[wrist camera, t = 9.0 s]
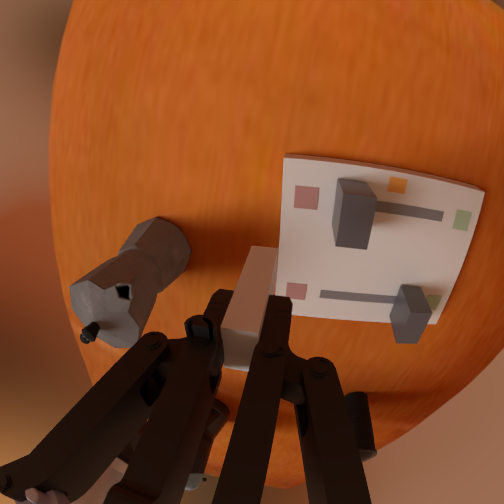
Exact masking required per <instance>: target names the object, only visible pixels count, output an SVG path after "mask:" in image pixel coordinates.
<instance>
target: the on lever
mask: <svg viewBox="0 0 504 504" xmlns="http://www.w3.org/2000/svg"><path fill="white" fill-rule="evenodd" d="M431 315H432V311H431V309H430V306H429V304H428V302H427V300H426V297H425V295H424V293H423V291H422V289H421V287H412V286H400V288H399V291H398V294H397V297H396V299H395V302H394V305H393V307H392V310H391V312H390V315H389V317H390V321H391V325H392V329H393V333H394V337H395V341H396V343H414V344H417V342H418V341H419V339H420V337H421V335H422V333H423V331H424V329H425V327H426V325H427V323H428V321H429V319H430V317H431Z"/></svg>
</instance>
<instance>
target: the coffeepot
mask: <svg viewBox="0 0 504 504" xmlns="http://www.w3.org/2000/svg"><path fill="white" fill-rule="evenodd" d="M190 254H191V249H190V247H189V244H188V242H187V239H186V237H185V236H184V234H183V233H182V232H181V230H180V228H178V227H177V226H175V225H174V224H172V223H170V222H168V221H166V220H163V219H159V218H157V217H155V218H153V219H150V220H147V221H145V222H143V223H141V224H138V225H137V226H136V227H135V229H134V230H133V232H132V233H131V234H130V236H129V237H128V239H127V240H126V242H125V243H124V245H123V246H122V248H121V249H120V250H119V253H118V256H116V257H114V258H111V259H109V260H107V261H106V262H104V263H103V264H101V265H100V266H98V267H97V268H95V269H94V270H92V271H91V272H89V273H88V274H86V275H85V276H83V277H82V278H81V279H79V280H78V281H76V282H75V283H73V284H72V285H70V295H71V306H72V309H73V311H74V312H75V313H76V315H77V316H78V317H79V319H80V320H81V322H82V323H83V324H84V325H85V328H84V329H82V333H81V335H80V339H81V341H82V342H83V343H85V344H88V343H89V342H90V341H91V342H93V341H95V339H96V337H98V338H100V339H101V340H103V341H104V342H106V343H108V344H109V345H111V346H113V347H115V348H131V347H132V346H133V345H134V344H135V343H136V342H137V341H138V340H139V339H140V337H141V335H142V332H143V330H144V328H145V325H146V323H147V320H148V318H149V316H150V313H151V311H152V309H153V306H154V304H155V301H156V297H157V293H159V292H162V291H163V290H164V289H165V288H166V287H167V286H168V285H169V284H171V283H172V282H173V281H174V280H175V279H176V278H177V277H178V276H180V275H181V274H182V273H183V272H184V271H185V269H186V266H187V263H188V261H189V257H190Z"/></svg>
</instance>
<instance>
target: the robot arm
mask: <svg viewBox="0 0 504 504" xmlns="http://www.w3.org/2000/svg"><path fill="white" fill-rule="evenodd" d="M277 255H278V248H272V247H262V246H251V249H250V252H249V254H248V257H247V259H246V262H245V265H244V267H243V270H242V272H241V275H240V278H239V280H238V283H237V285H236V288H235V291H232V290H225V289H219V290H218V291H216V292H215V293H214V294H213V295H212V297H211V299H210V301H209V303H208V306H207V309H206V310H205V312H204V314H203V315H196V316H192V317H190V318H189V319H187V320H186V321H185V323H184V325H185V330H186V334H187V337H185V338H180V339H167V337H166V335H164V334H163V333H161V332H149V333H146V334H145V335H143V336H142V337H141V338H140V339H139V340H138V341H137V342H136V343H135V344H134V345H133V346H132V347H131V348H130V349H129V350H128V351H127V352H126V353H125V354H124V355H123V356H122V357H121V358H120V359H119V360H118V361H117V362H116V363H115V364H114V365H113V366H112V367H111V369H110V370H109V371H108V372H107V373H106V374H105V375H104V376H103V377H102V378H101V379H100V380H99V381H98V382H97V383H96V384H95V385H94V386H93V387H92V388H91V389H90V390H89V391H88V392H87V393H86V394H85V395H84V396H83V397H82V399H81V400H80V401H79V402H78V403H77V404H76V405H75V406H74V407H73V408H72V409H71V410H70V411H69V412H68V413H67V414H66V415H65V417H63V419H62V420H61V421H60V422H59V423H58V424H57V425H56V426H55V427H54V428H53V429H52V430H51V431H50V432H49V434H48V435H47V436H46V437H45V438H44V439H43V440H42V441H41V442H40V443H39V444H38V445H37V446H36V448H35V449H34V450H33V451H32V452H31V453H30V454H29V455H27V456H24V457H22V458H20V459H18V460H15V461H13V462H11V463H8V464H6V465H3V466H1V467H0V493H2V494H3V495H5V496H7V497H9V498H11V499H14V500H15V502H16V504H180V501H181V498H182V496H183V493H184V490H194V489H196V488H198V487H199V484H200V482H201V479H202V477H203V476H204V471H205V468H206V464H207V461H208V458H209V454H210V451H211V448H212V444H213V441H214V438H215V437H216V436H217V435H218V433H219V432H220V431H221V429H222V428H223V427H224V425H225V424H226V422H227V420H228V416H229V410H228V408H227V407H226V406H225V405H224V404H223V403H221V402H220V401H218V400H217V399H215V396H216V393H217V390H218V387H219V384H220V380H221V377H222V371H221V369H222V366H223V363H224V367H225V368H230V369H236V370H242V371H248V375H247V379H246V382H245V386H244V390H243V394H242V398H241V402H240V405H239V409H238V413H237V417H236V420H235V424H234V428H233V431H232V435H231V439H230V442H229V446H228V449H227V453H226V456H225V460H224V464H223V467H222V470H221V474H220V477H219V481H218V485H217V488H216V491H215V495H214V498H213V501H212V504H260V502H261V497H262V493H263V488H264V483H265V479H266V474H267V469H268V464H269V459H270V454H271V448H272V443H273V438H274V432H275V427H276V421H277V415H278V409H279V403H280V398H282V399H284V400H287V401H289V402H291V403H294V408H295V415H296V421H297V427H298V433H299V439H300V446H301V452H302V459H303V465H304V472H305V478H306V485H307V492H308V498H309V504H371V499H370V495H369V490H368V486H367V481H366V477H365V473H364V469H363V465H362V461H361V457H360V453H359V449H358V445H357V442H356V438H355V434H354V430H353V427H352V423H351V419H350V416H349V412H348V409H347V405H346V402H345V398H344V395H343V391H342V388H341V385H340V381H339V378H338V375H337V371H336V368H335V366H334V364H333V363H332V362H331V361H330V360H328V359H326V358H323V357H313V358H310V359H308V360H305V359H303V358H300V357H298V356H296V355H295V354H294V353H293V352H292V351H291V350H290V348H289V345H288V340H289V332H290V324H291V316H292V307H293V303H292V301H291V299H290V297H286V296H278V295H274V290H275V283H276V269H277ZM148 418H149V419H148ZM147 420H148V421H147Z"/></svg>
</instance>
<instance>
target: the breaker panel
mask: <svg viewBox="0 0 504 504" xmlns="http://www.w3.org/2000/svg"><path fill="white" fill-rule="evenodd" d="M337 178H340V179H348V180H356V181H363V182H367V184H368V185H369V187H370V188H371V189H372V191H373V192H374V194H375V195H376V197H377V203H376V209H375V214H374V219H373V224H372V229H371V234H370V238H369V243H368V247H367V250H363V249H354V248H345V247H336V246H335V241H334V235H333V229H332V217H333V210H334V202H335V194H336V186H337ZM484 194H485V192H484V191H482V190H481V189H479V188H478V187H476V186H475V185H471V184H467V183H464V182H460V181H456V180H452V179H448V178H444V177H440V176H435V175H431V174H426V173H422V172H417V171H412V170H407V169H402V168H396V167H391V166H385V165H379V164H373V163H366V162H359V161H352V160H345V159H337V158H328V157H319V156H309V155H297V154H285V156H284V164H283V185H282V204H281V221H280V238H279V253H278V267H277V281H276V294H275V295H278V296H286V297H290V299H291V301H292V303H293V307H292V315H299V316H309V317H319V318H330V319H342V320H356V321H371V322H388V323H391V321H390V317H389V315H390V312H391V310H392V307H393V305H394V302H395V299H396V297H397V294H398V291H399V288H400V286H412V287H421V289H422V291H423V293H424V295H425V297H426V300H427V302H428V304H429V306H430V309H431V311H432V315H431V317H430V319H429V321H428V323H427V324H436V322H437V321H438V319H439V317H440V315H441V313H442V311H443V308H444V306H445V304H446V302H447V300H448V298H449V296H450V293H451V291H452V289H453V287H454V284H455V282H456V280H457V277H458V275H459V272H460V270H461V267H462V265H463V262H464V259H465V257H466V254H467V251H468V248H469V246H470V243H471V240H472V237H473V234H474V230H475V227H476V224H477V220H478V217H479V213H480V210H481V206H482V202H483V198H484Z"/></svg>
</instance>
